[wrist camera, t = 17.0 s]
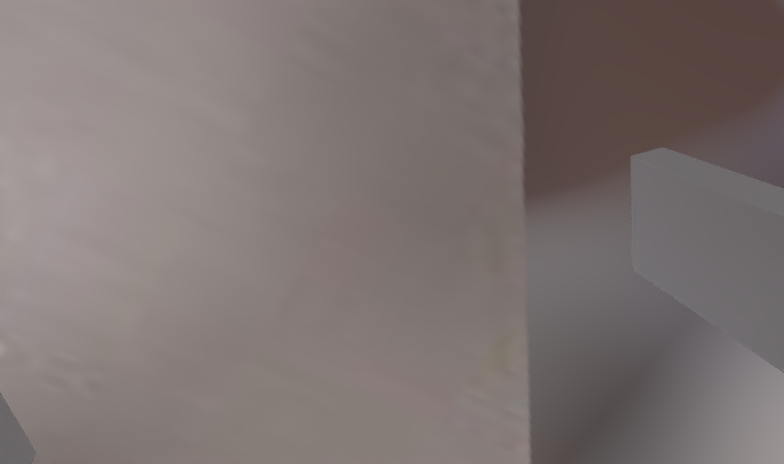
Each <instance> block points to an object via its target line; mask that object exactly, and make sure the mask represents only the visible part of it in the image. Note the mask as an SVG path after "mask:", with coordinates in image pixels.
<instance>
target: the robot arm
mask: <svg viewBox="0 0 784 464" xmlns="http://www.w3.org/2000/svg"><path fill="white" fill-rule="evenodd" d="M631 216H632V217H631V220H632V270H634V271H635V272H637V273H638V274H639V275H641V276H642V277H644V278H645V279H647V280H649V281H650V282H651V283H653V284H654V285H656V286H657V287H659V288H660V289H661V290H663V291H664V292H666V293H667V294H669V295H670V296H672V297H673V298H675V299H676V300H678V301H679V302H681V303H682V304H684V305H685V306H686V307H688V308H690V309H691V310H692V311H694V312H695V313H697V314H698V315H700V316H701V317H703V318H704V319H706V320H707V321H709V322H710V323H711V324H713V325H714V326H716V327H717V328H719V329H720V330H722V331H723V332H725V333H726V334H728V335H729V336H730V337H732V338H733V339H735V340H736V341H738V342H739V343H741V344H742V345H744V346H745V347H747V348H748V349H750V350H751V351H752V352H754V353H755V354H757V355H759V356H760V357H762V358H763V359H764V360H766V361H767V362H769V363H770V364H772V365H773V366H774V367H776V368H778V369H779V370H780V371H782V372H783V373H784V189H783V188H780V187H777V186H774V185H771V184H768V183H765V182H762V181H759V180H756V179H754V178H751V177H748V176H745V175H742V174H739V173H736V172H733V171H730V170H727V169H725V168H722V167H719V166H716V165H713V164H710V163H707V162H704V161H701V160H698V159H695V158H693V157H690V156H687V155H684V154H681V153H678V152H675V151H672V150H669V149H666V148H658V149H655V150H651V151H647V152H644V153H640V154H637V155H633V156H631ZM35 454H36V451H35V450H34V448H33V446H32V445H31V443H30V441H29V440H28V438H27V436H26V435H25V433H24V431H23V430H22V428H21V426H20V425H19V423H18V421H17V420H16V418H15V416H14V415H13V413H12V411H11V409H10V408H9V406H8V404H7V403H6V401H5V399H4V398H3V396H2V394H1V393H0V464H31V463H32V461H33V459H34V456H35Z"/></svg>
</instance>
